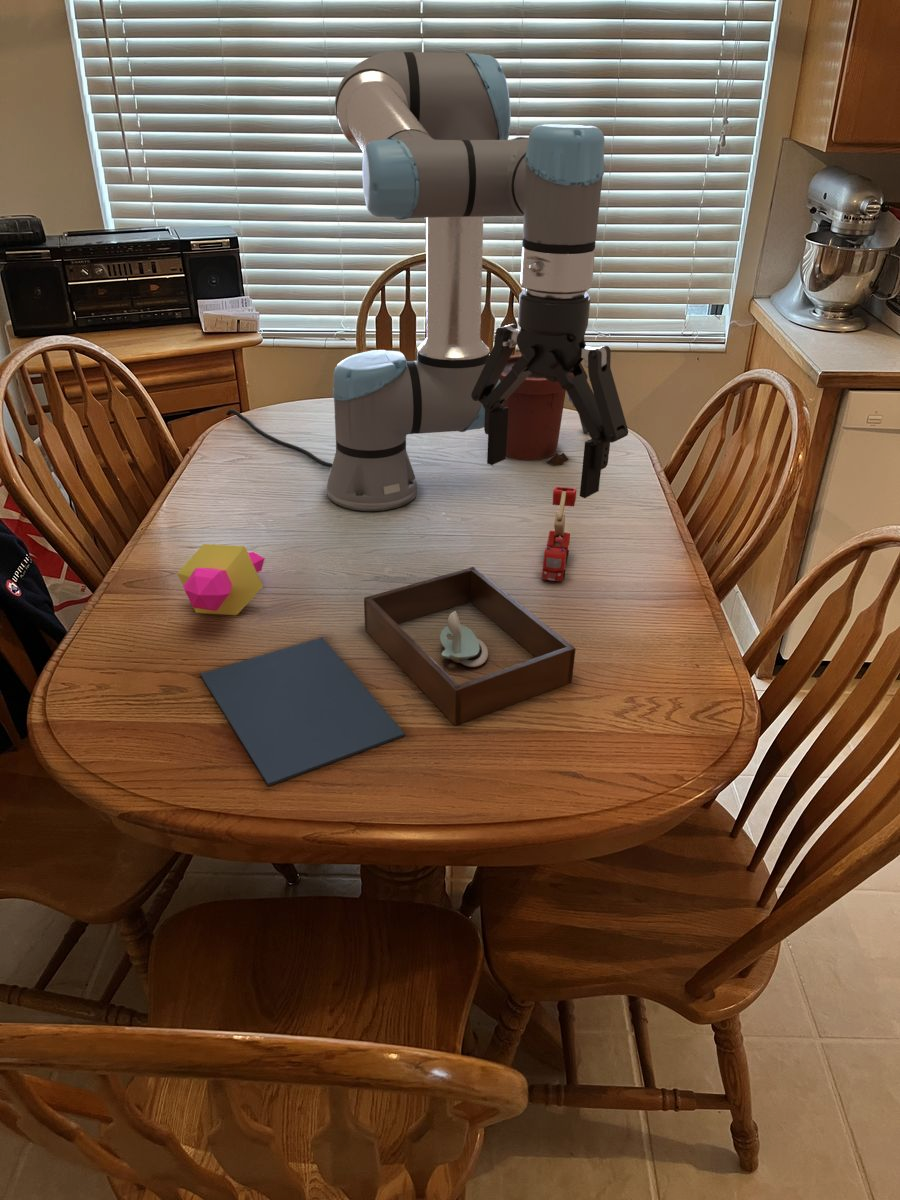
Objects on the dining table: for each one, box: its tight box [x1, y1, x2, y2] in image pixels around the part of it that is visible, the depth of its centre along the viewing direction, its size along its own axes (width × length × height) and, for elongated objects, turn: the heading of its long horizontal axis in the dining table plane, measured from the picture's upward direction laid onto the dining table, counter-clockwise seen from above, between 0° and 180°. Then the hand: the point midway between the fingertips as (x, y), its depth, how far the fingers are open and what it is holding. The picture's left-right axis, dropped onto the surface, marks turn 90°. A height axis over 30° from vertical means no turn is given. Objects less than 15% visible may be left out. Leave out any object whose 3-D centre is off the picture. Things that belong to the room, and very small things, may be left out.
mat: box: [199, 637, 406, 787], centre depth 104 cm, size 22×16×1 cm
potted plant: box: [499, 354, 589, 466], centre depth 167 cm, size 18×22×25 cm
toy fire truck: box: [541, 486, 577, 582], centre depth 132 cm, size 3×14×10 cm, turn 168°
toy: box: [177, 543, 265, 616], centre depth 120 cm, size 10×18×10 cm, turn 175°
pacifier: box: [439, 611, 489, 668], centre depth 111 cm, size 7×6×6 cm
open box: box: [363, 566, 576, 726], centre depth 112 cm, size 23×17×5 cm
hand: (541, 477), depth 106 cm, fingers open, 13 cm apart
